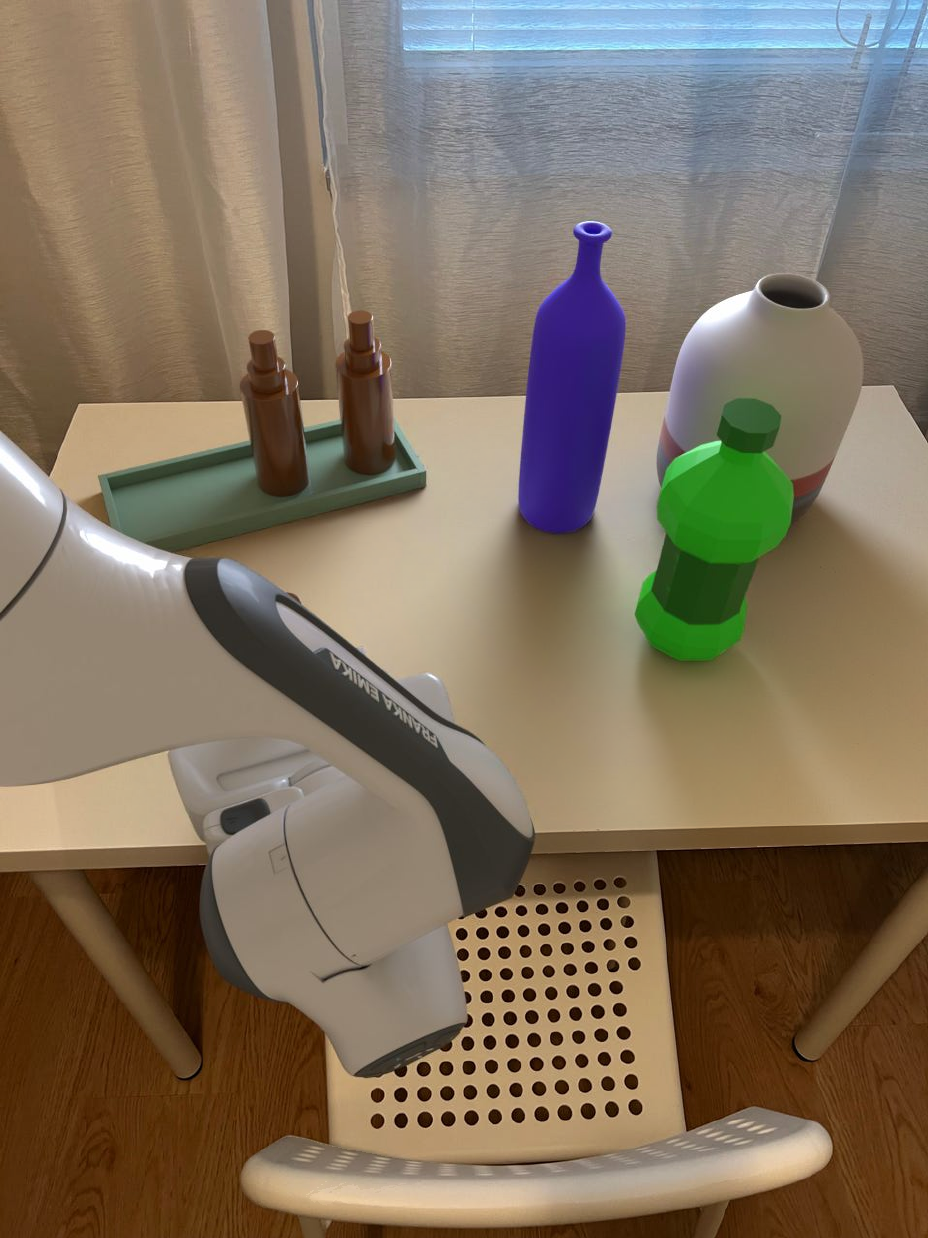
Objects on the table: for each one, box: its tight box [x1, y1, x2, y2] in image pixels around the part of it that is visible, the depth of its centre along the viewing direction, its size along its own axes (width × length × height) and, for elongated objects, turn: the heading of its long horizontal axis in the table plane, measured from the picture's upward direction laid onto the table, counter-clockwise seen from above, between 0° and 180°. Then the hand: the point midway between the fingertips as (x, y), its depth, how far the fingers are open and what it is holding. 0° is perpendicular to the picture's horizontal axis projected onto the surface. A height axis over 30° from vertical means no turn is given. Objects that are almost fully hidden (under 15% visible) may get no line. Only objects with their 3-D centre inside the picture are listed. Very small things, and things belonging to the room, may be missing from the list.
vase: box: [655, 272, 864, 526], centre depth 90 cm, size 17×17×24 cm
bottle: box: [517, 220, 627, 534], centre depth 86 cm, size 8×8×30 cm
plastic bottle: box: [634, 398, 794, 662], centre depth 77 cm, size 10×10×25 cm
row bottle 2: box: [334, 309, 395, 475], centre depth 95 cm, size 6×6×17 cm
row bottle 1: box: [239, 329, 310, 497], centre depth 92 cm, size 6×6×17 cm
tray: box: [97, 417, 427, 553], centre depth 98 cm, size 32×12×2 cm, turn 113°
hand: (293, 668), depth 72 cm, fingers open, 8 cm apart
